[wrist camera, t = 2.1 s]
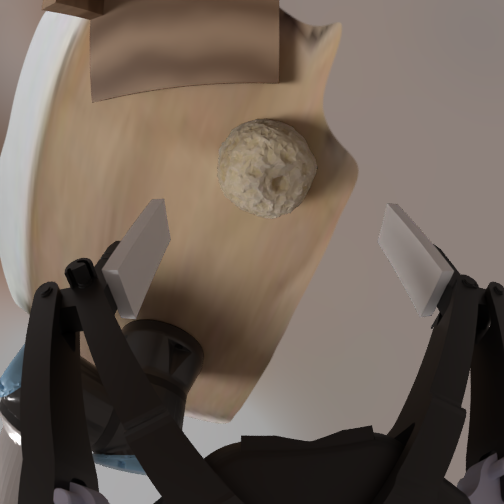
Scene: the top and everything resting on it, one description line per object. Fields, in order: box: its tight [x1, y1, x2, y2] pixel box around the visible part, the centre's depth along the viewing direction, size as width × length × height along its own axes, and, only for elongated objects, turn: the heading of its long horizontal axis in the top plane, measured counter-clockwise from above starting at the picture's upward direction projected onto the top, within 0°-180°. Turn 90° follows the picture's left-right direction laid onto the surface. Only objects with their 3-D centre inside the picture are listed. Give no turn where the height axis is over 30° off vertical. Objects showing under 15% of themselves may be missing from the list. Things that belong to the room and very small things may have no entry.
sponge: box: [217, 119, 318, 219], centre depth 24 cm, size 9×10×10 cm
